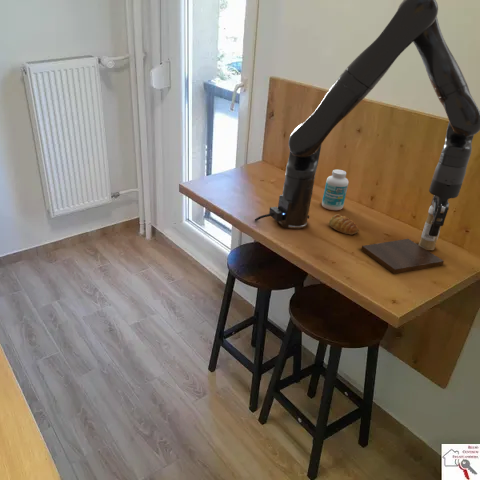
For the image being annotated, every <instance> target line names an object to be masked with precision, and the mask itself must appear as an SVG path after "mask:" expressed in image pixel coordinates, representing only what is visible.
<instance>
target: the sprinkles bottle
mask: <svg viewBox="0 0 480 480" xmlns="http://www.w3.org/2000/svg"><path fill="white" fill-rule="evenodd" d="M430 205H431V204H430ZM430 205H429V208H428V210H427V211H428V212H427V216H426V219H425V223H424V226H423V230H422V232H421V236H420V240H419V242H418V245H419V246H421V247H422V248H424V249H426V250H427V251H434V250H435V248H436V244H437V242H438V239H439V237H440V232H441V229H442V226H440V229H439V232H438V235H437V236H436V237H434V236H430V235H429V231H430V228H431V224H432V220H433V216H432V210H433V206H432V205H431V206H430ZM435 213H436V212H435ZM436 221H440V218H437V220H436Z"/></svg>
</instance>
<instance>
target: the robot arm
mask: <svg viewBox="0 0 480 480" xmlns="http://www.w3.org/2000/svg"><path fill="white" fill-rule="evenodd" d="M438 14H439V4H438V2H437V0H402V1H401V2H400V4H399V6H398V8H397V10H396V12H395V13H394V14H393V16H392V18H391V20H390V21H389V22H388V24H387V25H386V26H385V27H384V29H383V30H382V32H381V33H380V34H379V35H378V36H377V38H376V39H375V40H374V41H373V42H372V43H371V44H370V45H368V46H367V47H366V48H365V49H364V50H362V52H361V53H359V55H358V56H356V57H355V59H353V61H351V62H350V64H349V65H348V66H347V67H346V68H345V69H344V70H343V72H342V73H341V74H340V75H339V77H338V78H337V79H335V81H334V83H333V84H332V85H331V87H330V88H329V90H328V91H327V92H326V93H325V95H324V97H323V99H322V100H321V102H320V104H319V105H318V106H317V108H316V109H315V111H314V112H313V113H312V114H311V115H310V116H309V117H308V118H307V119H306V120H305V121H304V122H302V123H300V124H299V125H297V126H296V127H295V128H294V129H293V131H292V132H291V134H290V135H289V139H288V149H289V154H288V159H287V163H286V168H285V172H284V181H283V186H282V194H279V197H278V204H277V206H271V207H270V206H269V212H268V213H266V214H263V215H260V216H257V217H256V218H254V221H255V222H257V221H260V220H261V219H265V218H268V217H270V218H271V219H273V220H274V221H275V222H277V223H278V224H279V225H280V226H282V227H283V228H284V229H291V230H300V229H304V228H306V227H307V226H308V220H310V215H309V213H310V209H311V208H310V207H311V202H312V197H313V191H314V184H315V179H316V174H317V171H318V170H317V169H318V166H319V159H320V155H321V150H322V144H323V142H324V141H325V140H326V138H327V137H328V136H329V135H330V133H331V132H332V131H333V130H334V128H335V127H336V126H337V125H338V124H339V123H340V122H341V121H342V120H344V119H345V118H346V117H347V116H348V115H349V114H350V113H351V112H352V111H353V110H354V109H355V108H356V107H357V106H358V105H359V104H360V103H361V102H362V101H363V100H364V99H365V98H366V97H367V96H368V95H369V93H370V92H371V91H373V89H374V88H375V87H376V86H377V84H378V83H379V82H380V81H381V80H382V78H383V77H384V76H385V75H386V74H387V72H388V71H389V70H390V68H391V67H392V65H393V64H394V63H395V61H396V60H397V59H398V58H399V56H401V55H402V53H403V52H404V51H405V50H406V49H407V48H408V47H409V46H410V45H411V44H413V45H414V46H415V48H416V49H417V52H418V54H419V55H420V58H421V61H422V63H423V66H424V69H425V71H426V73H427V76H428V79H429V81H430V83H431V87H432V89H433V90H434V92H435V95H436V97H437V99H438V100H439V102H440V103H441V105H442V106H443V109H444V112H445V114H446V117H447V119H448V124H447V127H446V134H445V139H444V144H443V147H442V149H441V152H440V156H439V159H438V162H437V164H436V166H435V169H434V172H433V175H432V178H431V182H430V185H429V189H428V192H429V193H430V194H431V195H432V199H431V201H430V205H429V207H430V206H431V205H432V206H433V210H432V216H433V220H432V224H431V228H430V231H429V235H430V236H434V237H436V236H437V235H438V232H439V229H440V226H441V227H443V226H445V225H444V223H445V220H446V217H447V215H448V211H449V209H450V208H449V206H450V202H449V200H450V199H456V198H458V197H459V195H460V192H461V189H462V186H463V183H464V179H465V177H466V173H467V167H468V164H469V161H470V158H471V155H472V151H473V150H472V149H473V147H472V144H473V139H474V136H475V135H476V134H478V133H479V132H480V109H479V107H478V105H477V104H476V102H475V99H474V98H473V96H472V94H471V92H470V89H469V86H468V82H467V81H466V79H465V76H464V74H463V72H462V70H461V68H460V66H459V64H458V62H457V60H456V58H455V57H454V55H453V53H452V52H451V50H450V48H449V46H448V44H447V43H446V40H445V38H444V35H443V33H442V30H441V28H440V23H439V20H438ZM435 212H436V213H435ZM437 218H440V221H436V220H437ZM440 230H441V229H440Z"/></svg>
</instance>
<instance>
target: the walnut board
mask: <svg viewBox="0 0 480 480" xmlns="http://www.w3.org/2000/svg"><path fill="white" fill-rule="evenodd" d="M360 250H361V251H362V252H363V253H365V254H366V255H367V256H369V257H370V258H371V259H373V260H374V261H375V262H377V263H378V264H380V265H381V266H382V267H384V268H385V269H386V270H388V272H390V273H392V274H393V275H395V274H400V273H407V272H412V271H417V270H418V271H419V270H423V269H429V268H435V267H441V266H444V262H445V260H443V259H442V258H440V257H438V256H437V255H435V254H434V253H432V252H431V251H430V250H426V249H424V248H422V247H421V246H419V243H416V242H414V241H413V240H411V239H410V238H403V239H398V240H391V241H385V242H384V241H383V242H377V243H372V244H371V243H370V244H366V245H365V244H364V245H361V249H360Z"/></svg>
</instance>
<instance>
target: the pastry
mask: <svg viewBox="0 0 480 480" xmlns="http://www.w3.org/2000/svg"><path fill="white" fill-rule="evenodd" d="M328 225H329V226H330V228H332V229H333V230H335V231H337V232H340V233H342V234H344V235H355V234H357V233H358V232H359V231H360V230H359V227H358V226H357V224H356V223H355V222H354V221H353V220H352V219H351V218H349V217H347V216H345V215H344V216H342V215H341V214H335V215H333V216H332V217H331V218H330V220H329V221H328Z"/></svg>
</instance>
